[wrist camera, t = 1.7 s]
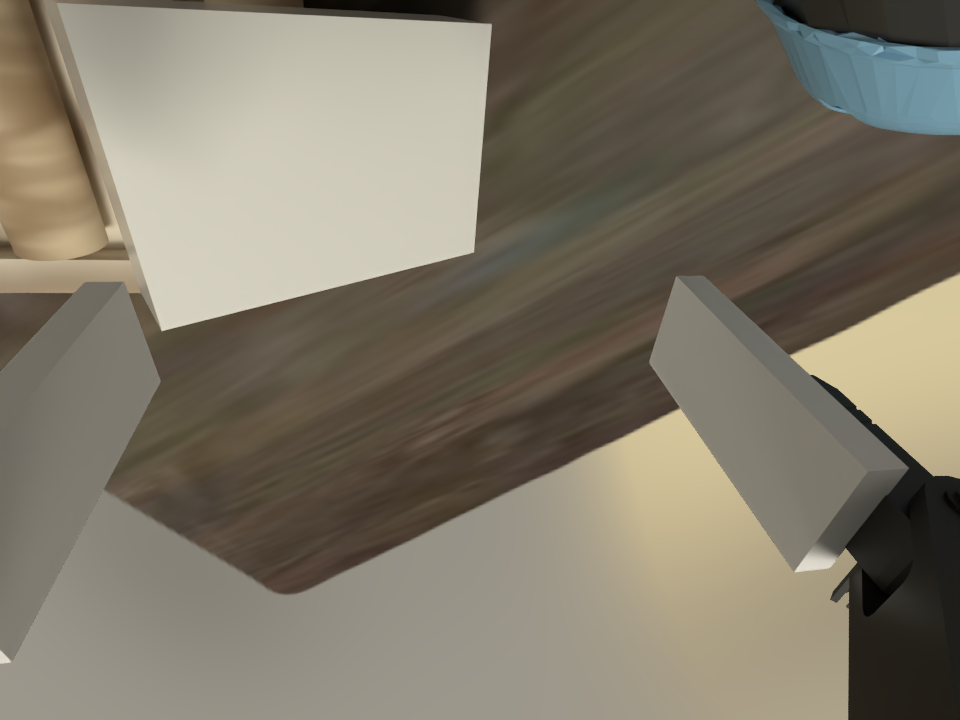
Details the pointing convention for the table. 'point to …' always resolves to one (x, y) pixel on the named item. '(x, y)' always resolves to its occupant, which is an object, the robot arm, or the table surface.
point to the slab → (277, 143)
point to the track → (112, 261)
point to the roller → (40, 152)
